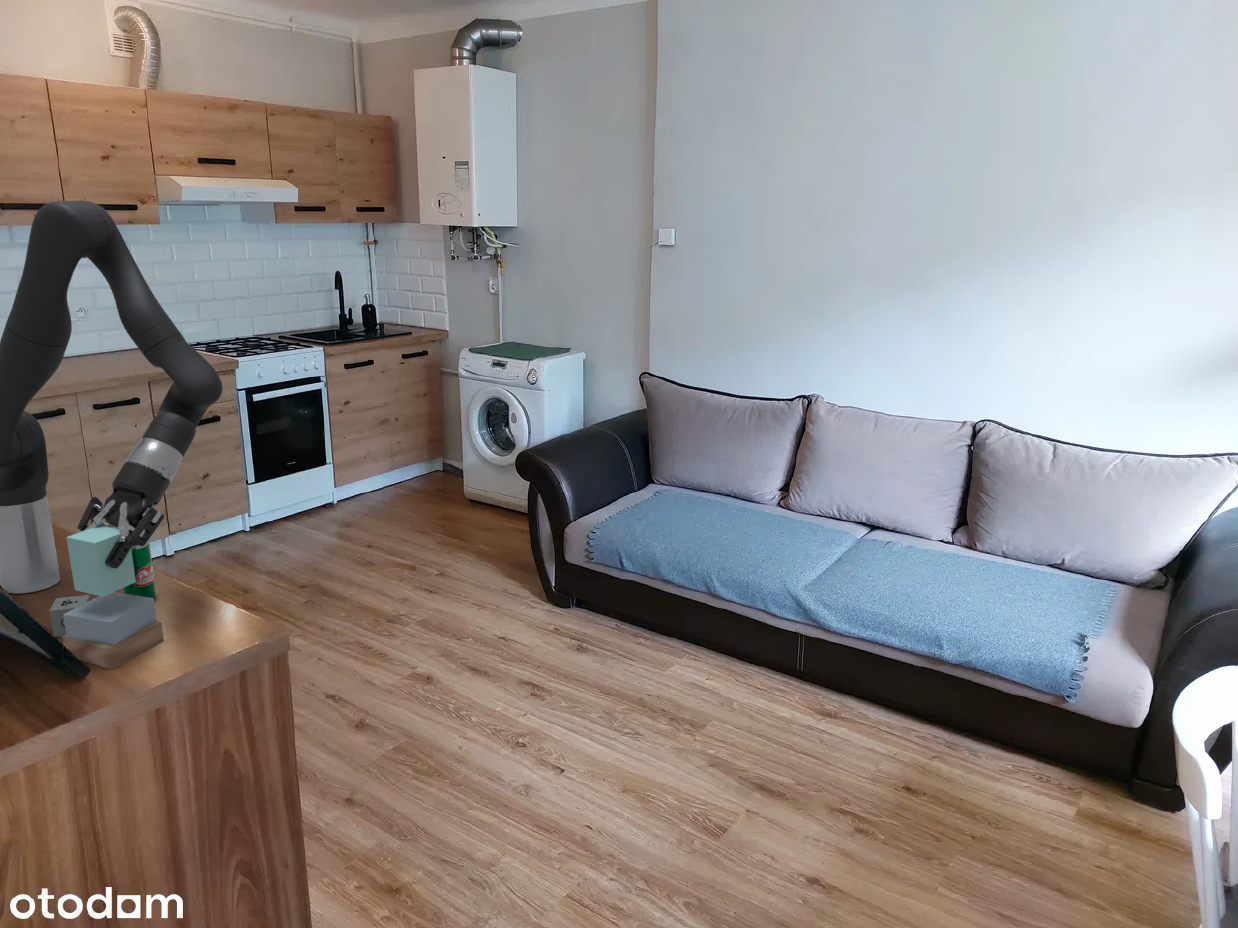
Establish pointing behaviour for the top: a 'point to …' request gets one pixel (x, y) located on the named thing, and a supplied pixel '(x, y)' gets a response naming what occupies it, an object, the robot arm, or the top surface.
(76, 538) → the teal square block
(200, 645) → the top surface
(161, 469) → the robot arm
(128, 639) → the walnut block
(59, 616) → the dice cube
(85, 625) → the slate block
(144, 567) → the soda can
